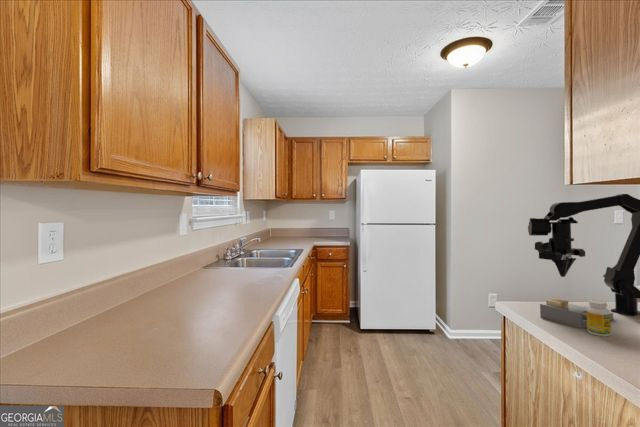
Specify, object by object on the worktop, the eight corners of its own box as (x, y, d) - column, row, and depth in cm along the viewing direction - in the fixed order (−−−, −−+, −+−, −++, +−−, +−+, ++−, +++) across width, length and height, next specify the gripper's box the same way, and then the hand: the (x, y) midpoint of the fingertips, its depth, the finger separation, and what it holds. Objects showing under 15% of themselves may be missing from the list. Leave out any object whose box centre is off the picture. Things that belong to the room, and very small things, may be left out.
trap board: (571, 309, 118) (571, 297, 118) (613, 319, 106) (612, 305, 106) (540, 316, 110) (540, 304, 110) (581, 328, 99) (581, 314, 99)
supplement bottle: (590, 328, 99) (589, 298, 99) (613, 333, 94) (612, 301, 94) (584, 332, 96) (583, 301, 96) (607, 338, 91) (606, 305, 91)
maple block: (554, 309, 112) (554, 298, 112) (568, 312, 108) (568, 301, 108) (546, 311, 110) (546, 299, 110) (560, 314, 106) (560, 303, 106)
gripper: (554, 233, 130) (555, 270, 130) (524, 235, 123) (525, 275, 123) (585, 234, 120) (586, 275, 120) (554, 237, 112) (556, 280, 112)
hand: (562, 276), depth 119 cm, fingers closed
